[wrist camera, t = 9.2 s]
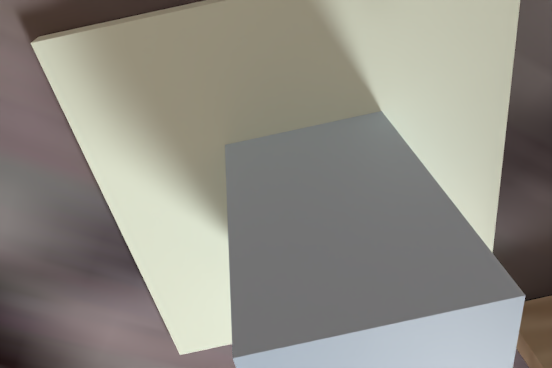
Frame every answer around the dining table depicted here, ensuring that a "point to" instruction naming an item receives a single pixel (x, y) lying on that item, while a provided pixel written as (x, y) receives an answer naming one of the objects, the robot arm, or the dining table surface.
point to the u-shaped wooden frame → (536, 333)
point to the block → (358, 257)
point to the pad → (271, 115)
